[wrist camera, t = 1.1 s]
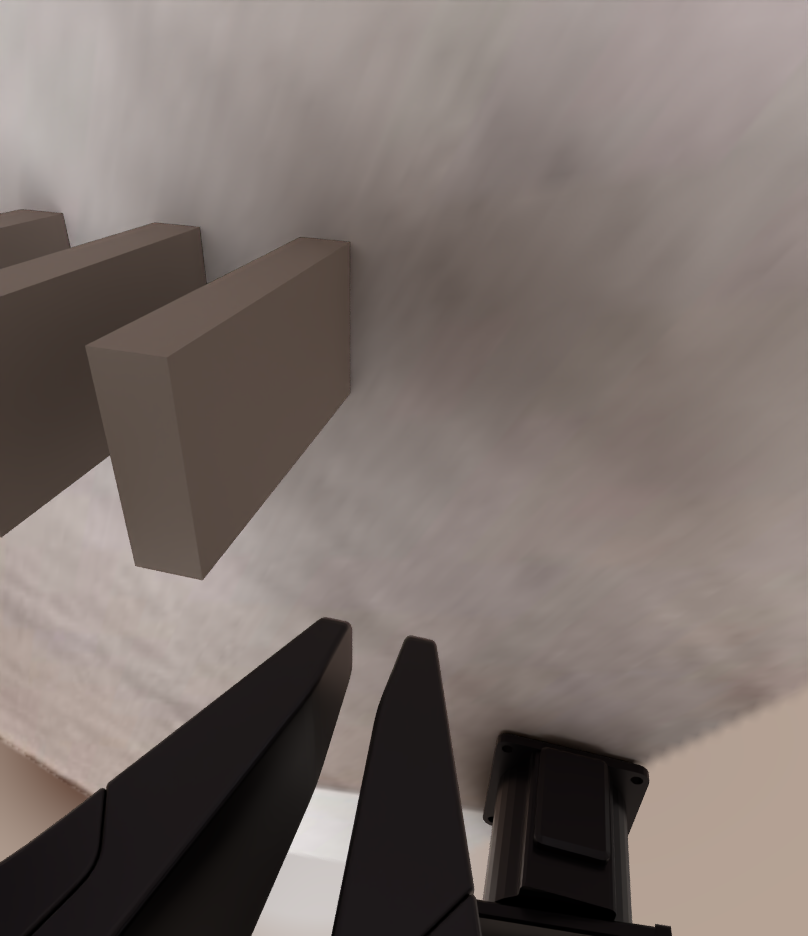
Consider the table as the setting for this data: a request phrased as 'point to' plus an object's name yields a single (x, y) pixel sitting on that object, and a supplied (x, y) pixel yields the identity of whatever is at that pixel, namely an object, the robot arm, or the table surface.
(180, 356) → the domino
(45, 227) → the domino
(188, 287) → the domino
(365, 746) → the table surface
